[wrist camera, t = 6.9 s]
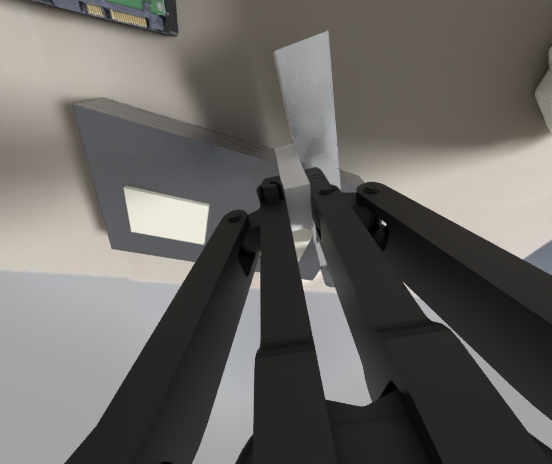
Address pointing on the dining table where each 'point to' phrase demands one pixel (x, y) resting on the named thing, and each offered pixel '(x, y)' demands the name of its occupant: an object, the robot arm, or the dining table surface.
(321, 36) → the gray rectangular bar
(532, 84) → the dining table surface
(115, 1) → the disk drive
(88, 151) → the plate
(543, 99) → the vase
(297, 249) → the label
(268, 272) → the robot arm
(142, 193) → the label
